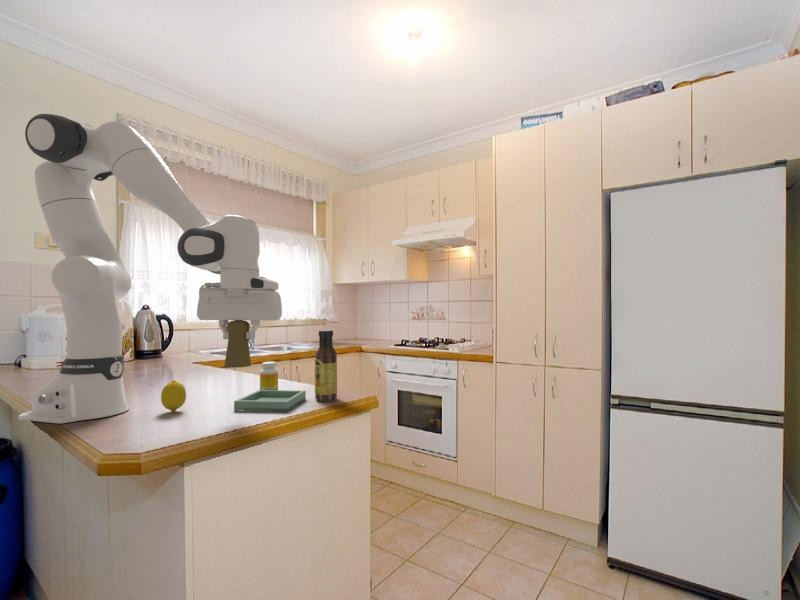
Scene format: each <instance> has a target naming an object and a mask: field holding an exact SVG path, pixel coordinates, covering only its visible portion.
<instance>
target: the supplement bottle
mask: <svg viewBox="0 0 800 600" xmlns="http://www.w3.org/2000/svg"><path fill="white" fill-rule="evenodd" d="M276 363H277V362H276V361H264V362H262V363H261V367H262V369H261V370H260V371H259V390H279V371H278V369H277V368H276V366H277V364H276Z"/></svg>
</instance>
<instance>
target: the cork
mask: <svg viewBox="0 0 800 600" xmlns="http://www.w3.org/2000/svg"><path fill="white" fill-rule="evenodd" d="M250 330H251V324H250V323H249V321H248V320H229V323H228V324H227V332H228V333H229V339H227V346H226V353H225V361H224V368H247V367H251V366H252V362H251V361H252V360H251V354H250V353H251V351H250V344H249V340H247V339H246V332H250Z"/></svg>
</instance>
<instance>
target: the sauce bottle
mask: <svg viewBox="0 0 800 600" xmlns="http://www.w3.org/2000/svg"><path fill="white" fill-rule="evenodd" d="M333 336H334V331H333V330H332V329H319V330H318V340H319V342H318V346H319V347H318V349H317V350H316V352H315V354H314V355H315V356H314V394H315V396H314V398H315V400H317V402H325V403H326V402H333V401H336V400H337V397H338V361H337V360H338V359H337V357H338V355H337V351H336V350H335V348H334V346H333V345H334V344H333Z"/></svg>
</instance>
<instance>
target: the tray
mask: <svg viewBox="0 0 800 600" xmlns="http://www.w3.org/2000/svg"><path fill="white" fill-rule="evenodd" d="M306 393H307V392H306V390H290V389H289V390H280V389H278V390H260V389H258V390H256V391H254V392H251V393H249V394H247V395H245V396H241V397H240V398H238V399H235V400H234V401H233V411H234V410H244V411H243V412H263V411H264V413H265V412H272V413H273V412H274V413H277V412H278V413H287V412H289V411H291V410H292V409H293V408H295V407H297V406H298V405H300V404H302V403H303V402H304V401H305V399H306V398H307V396H306V395H307V394H306ZM302 401H303V402H302ZM299 403H300V404H299Z"/></svg>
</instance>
